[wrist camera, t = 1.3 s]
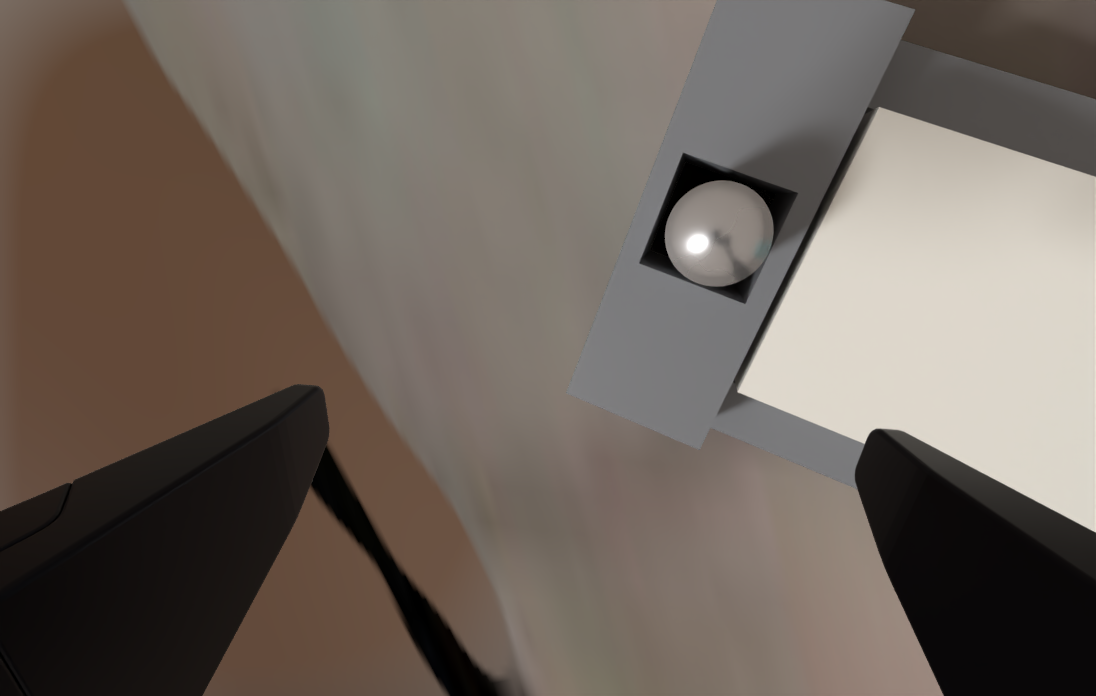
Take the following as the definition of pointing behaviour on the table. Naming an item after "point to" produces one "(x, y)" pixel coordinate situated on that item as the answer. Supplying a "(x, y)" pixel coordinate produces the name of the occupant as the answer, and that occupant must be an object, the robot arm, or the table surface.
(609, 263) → the table surface
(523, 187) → the table surface
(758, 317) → the filter housing
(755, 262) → the release plunger
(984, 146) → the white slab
